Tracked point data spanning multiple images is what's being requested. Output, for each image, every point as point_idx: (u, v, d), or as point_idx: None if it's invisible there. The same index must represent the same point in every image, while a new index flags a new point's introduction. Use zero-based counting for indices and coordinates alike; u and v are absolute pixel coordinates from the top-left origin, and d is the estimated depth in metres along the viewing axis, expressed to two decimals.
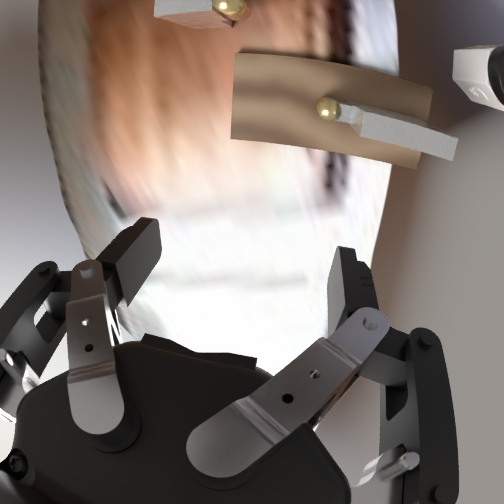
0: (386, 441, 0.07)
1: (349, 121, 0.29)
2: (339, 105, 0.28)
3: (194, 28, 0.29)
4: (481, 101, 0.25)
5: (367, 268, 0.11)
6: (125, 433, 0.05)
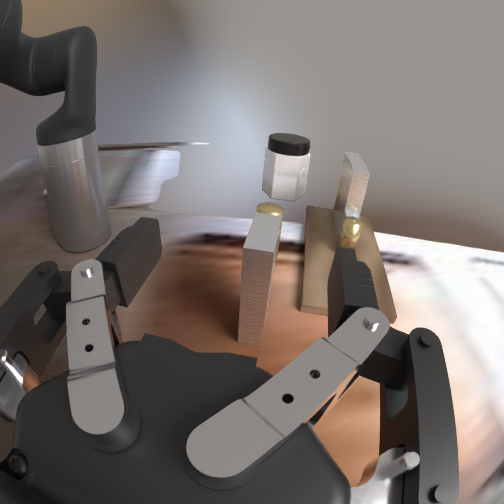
0: (386, 441, 0.07)
1: (357, 214, 0.41)
2: (347, 216, 0.40)
3: (261, 339, 0.29)
4: (305, 180, 0.58)
5: (367, 268, 0.11)
6: (125, 433, 0.05)
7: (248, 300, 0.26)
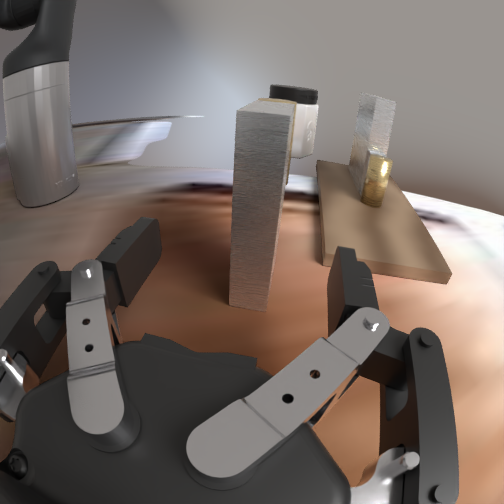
0: (386, 441, 0.07)
1: (383, 153, 0.30)
2: (373, 154, 0.29)
3: (267, 299, 0.18)
4: (313, 135, 0.48)
5: (367, 268, 0.11)
6: (125, 433, 0.05)
7: (245, 218, 0.15)
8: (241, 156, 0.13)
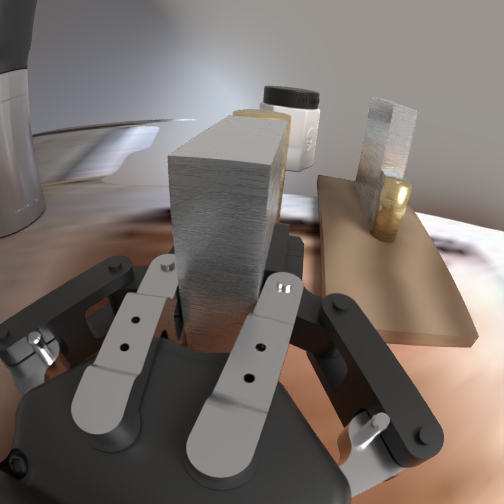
0: (343, 409, 0.08)
1: (400, 174, 0.25)
2: (388, 176, 0.24)
3: None
4: (314, 144, 0.42)
5: (301, 242, 0.12)
6: (115, 441, 0.05)
7: (203, 323, 0.10)
8: (185, 237, 0.08)
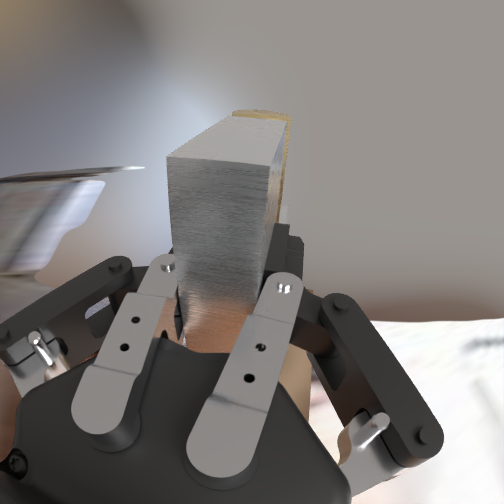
0: (343, 409, 0.08)
1: None
2: None
3: None
4: None
5: (301, 242, 0.12)
6: (114, 441, 0.05)
7: (203, 324, 0.10)
8: (183, 238, 0.08)
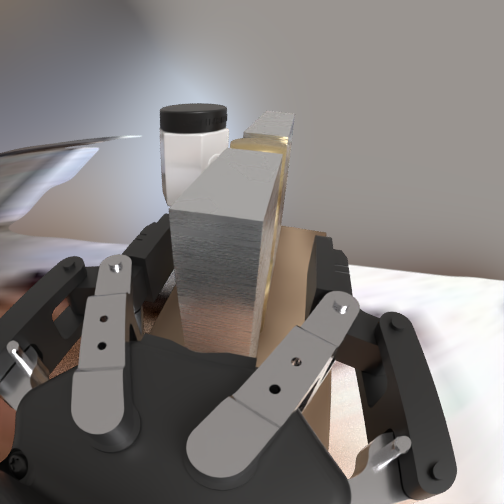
0: (372, 427, 0.07)
1: None
2: None
3: None
4: None
5: (344, 256, 0.12)
6: (122, 436, 0.05)
7: (204, 349, 0.10)
8: (186, 278, 0.08)
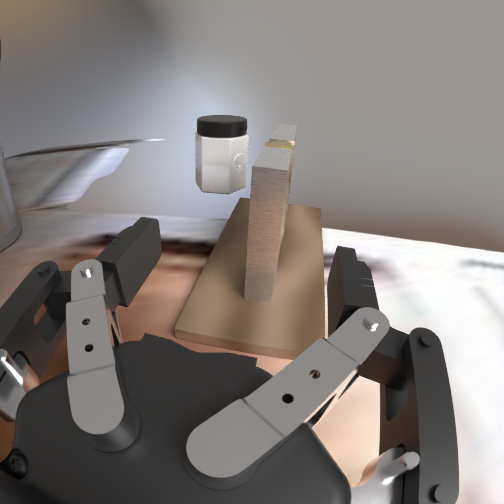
0: (386, 441, 0.07)
1: None
2: None
3: (272, 293, 0.25)
4: (244, 168, 0.48)
5: (367, 268, 0.11)
6: (125, 433, 0.05)
7: (257, 237, 0.22)
8: (255, 196, 0.20)
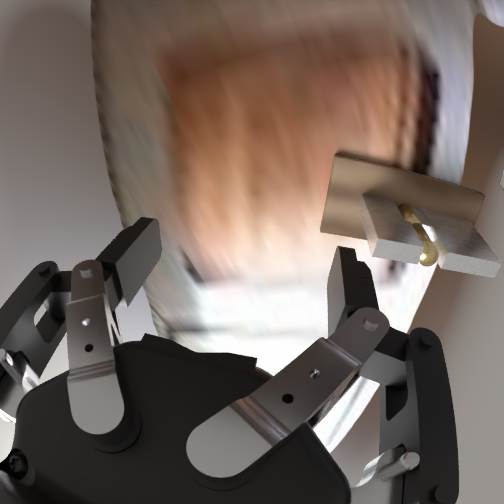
0: (386, 441, 0.07)
1: None
2: None
3: None
4: None
5: (367, 268, 0.11)
6: (126, 433, 0.05)
7: (368, 220, 0.35)
8: (373, 230, 0.32)
